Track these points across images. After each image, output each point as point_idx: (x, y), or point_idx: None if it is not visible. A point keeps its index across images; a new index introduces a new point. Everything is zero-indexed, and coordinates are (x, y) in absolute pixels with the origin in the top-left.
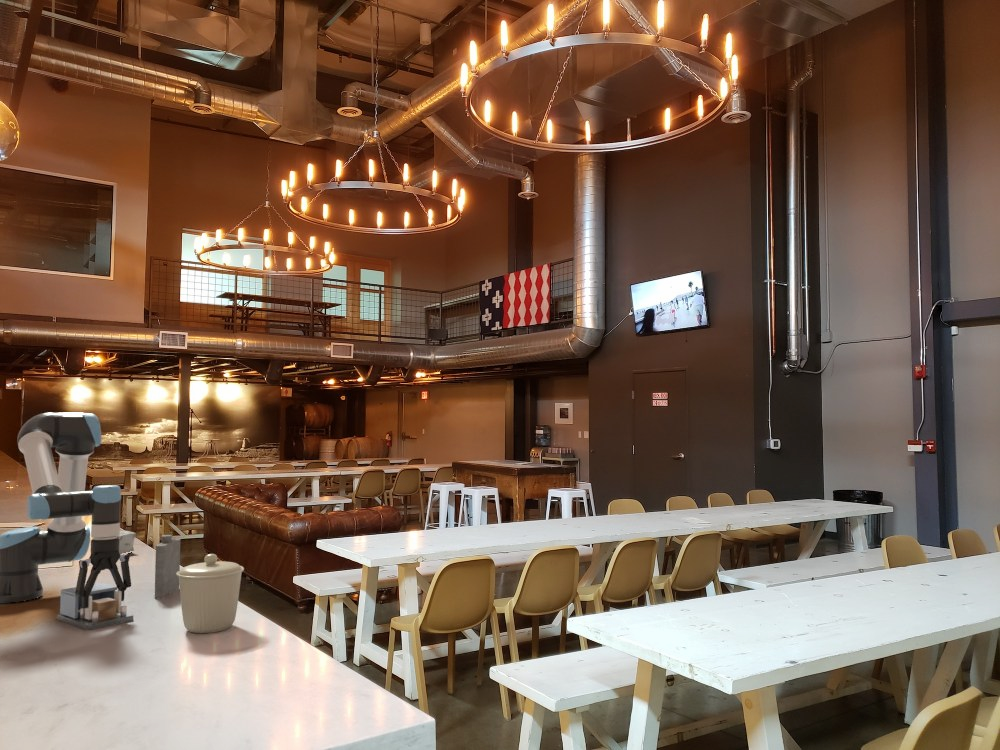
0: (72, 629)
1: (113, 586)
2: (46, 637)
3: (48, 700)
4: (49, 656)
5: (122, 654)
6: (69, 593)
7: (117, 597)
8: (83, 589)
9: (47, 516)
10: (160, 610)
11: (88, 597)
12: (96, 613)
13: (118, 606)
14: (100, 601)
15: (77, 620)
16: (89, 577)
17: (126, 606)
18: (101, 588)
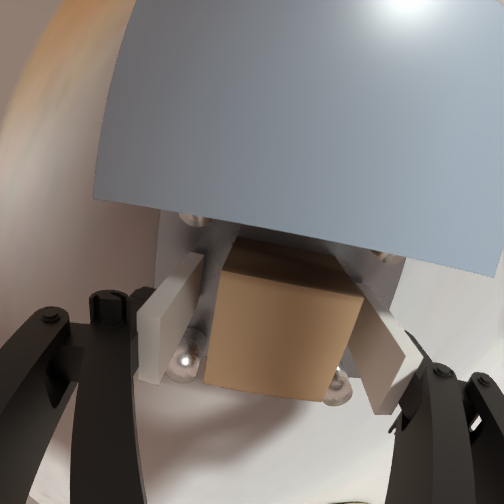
0: (133, 255)
1: (498, 230)
2: (41, 270)
3: (36, 483)
4: None
5: None
6: (125, 55)
7: (371, 367)
8: (61, 406)
9: None
10: (494, 312)
11: (139, 361)
12: (179, 378)
13: (349, 349)
14: (243, 355)
15: (168, 219)
16: (77, 475)
17: (343, 402)
18: (412, 195)
